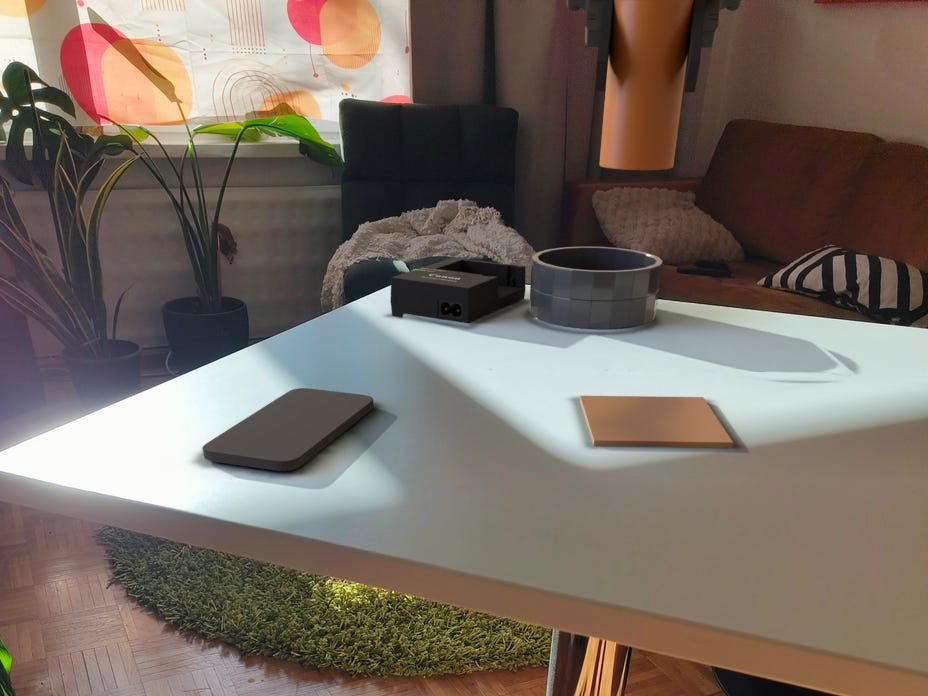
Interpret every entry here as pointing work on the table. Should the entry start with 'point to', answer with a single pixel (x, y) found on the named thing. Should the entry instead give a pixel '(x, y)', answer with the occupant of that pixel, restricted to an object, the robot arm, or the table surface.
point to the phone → (288, 429)
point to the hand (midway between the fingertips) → (646, 76)
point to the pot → (594, 287)
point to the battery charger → (457, 289)
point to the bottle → (645, 83)
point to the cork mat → (653, 422)
